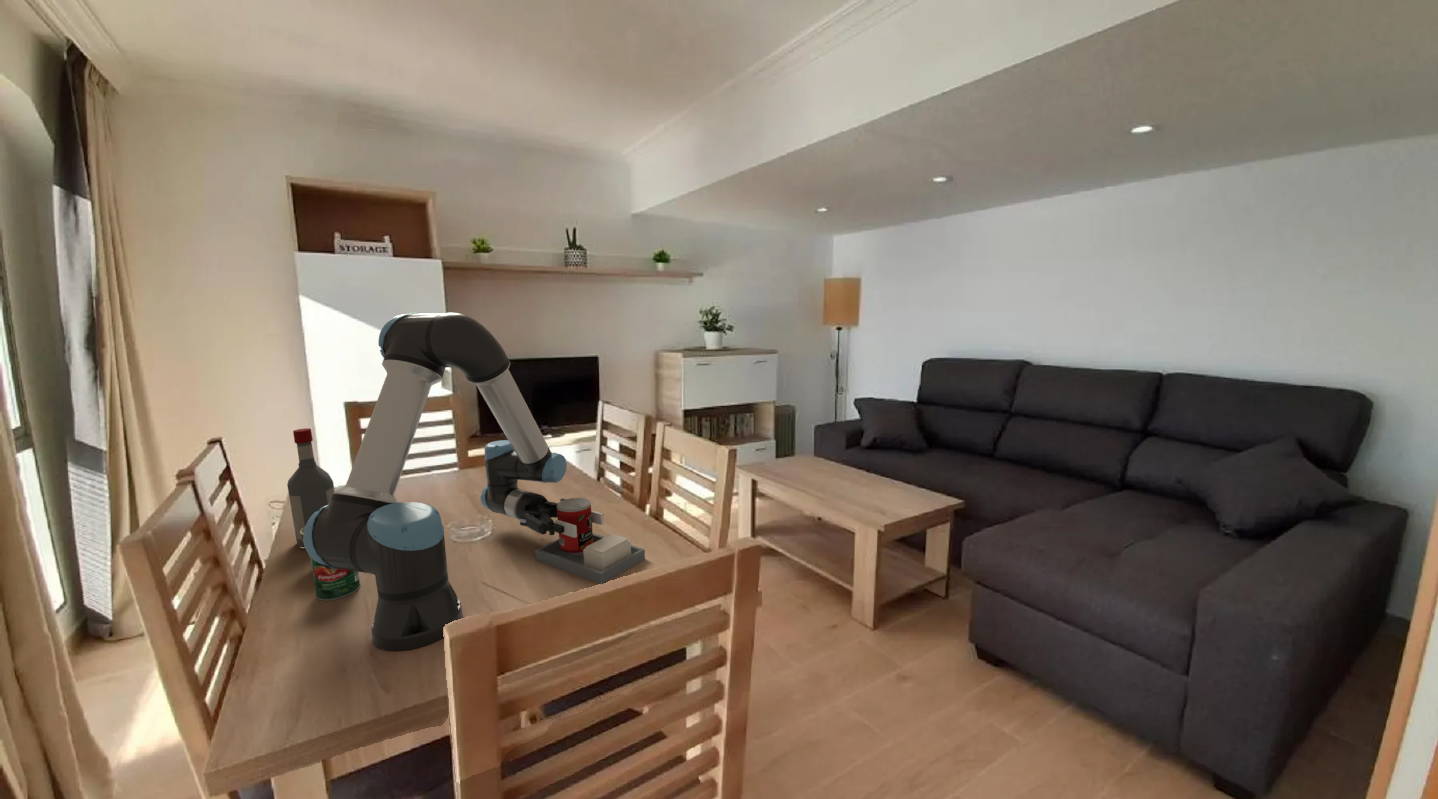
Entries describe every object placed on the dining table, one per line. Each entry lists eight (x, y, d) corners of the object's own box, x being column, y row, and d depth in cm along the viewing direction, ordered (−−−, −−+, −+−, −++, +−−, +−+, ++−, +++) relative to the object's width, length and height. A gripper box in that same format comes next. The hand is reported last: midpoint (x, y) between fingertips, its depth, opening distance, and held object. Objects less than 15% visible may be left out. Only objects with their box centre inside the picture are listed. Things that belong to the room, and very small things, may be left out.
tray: (645, 561, 129) (644, 549, 129) (601, 586, 118) (600, 574, 117) (580, 540, 141) (580, 529, 141) (536, 561, 130) (535, 549, 129)
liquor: (299, 552, 137) (280, 436, 132) (296, 540, 144) (278, 430, 139) (342, 541, 143) (326, 429, 138) (337, 531, 150) (321, 424, 145)
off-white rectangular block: (631, 560, 128) (630, 538, 127) (603, 577, 121) (602, 553, 120) (612, 554, 132) (611, 532, 131) (584, 570, 124) (583, 547, 123)
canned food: (585, 555, 127) (582, 510, 125) (553, 552, 129) (550, 508, 127) (598, 540, 135) (596, 498, 133) (568, 538, 136) (565, 496, 134)
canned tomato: (324, 605, 113) (316, 555, 111) (310, 593, 117) (302, 545, 115) (366, 588, 119) (360, 541, 117) (352, 578, 124) (345, 532, 122)
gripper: (559, 507, 149) (620, 525, 137) (492, 534, 133) (555, 557, 120) (557, 481, 148) (619, 496, 136) (489, 505, 131) (552, 525, 119)
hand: (589, 525), depth 128 cm, fingers closed on canned food, 8 cm apart
